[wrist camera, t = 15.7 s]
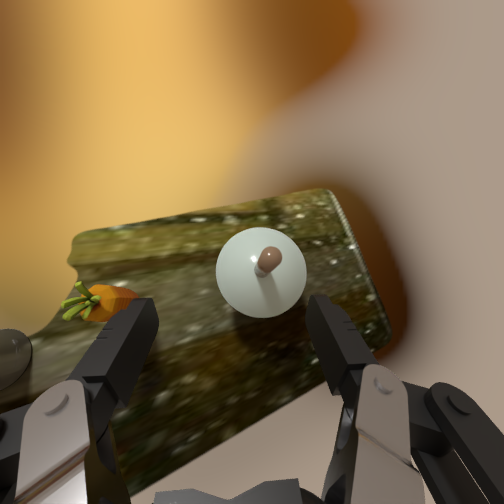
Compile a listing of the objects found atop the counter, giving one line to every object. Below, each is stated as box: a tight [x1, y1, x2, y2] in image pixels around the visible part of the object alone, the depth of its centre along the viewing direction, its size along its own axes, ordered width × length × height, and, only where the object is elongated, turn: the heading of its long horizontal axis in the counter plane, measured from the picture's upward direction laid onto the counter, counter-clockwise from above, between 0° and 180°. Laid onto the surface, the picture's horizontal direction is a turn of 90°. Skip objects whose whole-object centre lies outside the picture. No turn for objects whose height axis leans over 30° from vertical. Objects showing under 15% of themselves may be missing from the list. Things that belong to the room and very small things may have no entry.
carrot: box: [61, 281, 139, 322], centre depth 28 cm, size 5×5×15 cm
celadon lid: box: [216, 228, 307, 318], centre depth 26 cm, size 14×14×10 cm
